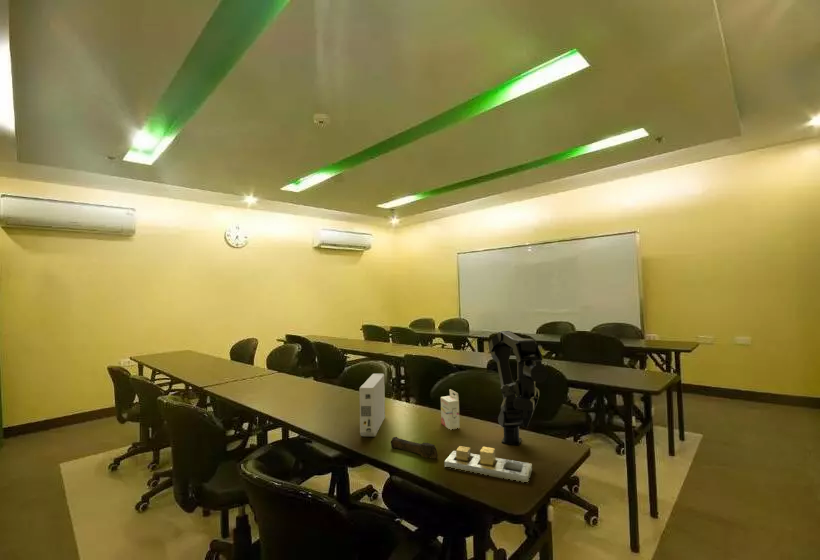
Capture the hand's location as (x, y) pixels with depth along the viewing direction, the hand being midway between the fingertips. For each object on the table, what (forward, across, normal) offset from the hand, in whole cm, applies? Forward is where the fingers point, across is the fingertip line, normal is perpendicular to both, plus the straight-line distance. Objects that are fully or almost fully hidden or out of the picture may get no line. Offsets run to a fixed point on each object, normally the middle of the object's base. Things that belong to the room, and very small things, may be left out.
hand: (527, 422), depth 125 cm
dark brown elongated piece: (+12, +10, -38) cm, 41 cm away
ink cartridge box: (+12, -20, -35) cm, 42 cm away
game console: (+12, -7, -65) cm, 67 cm away
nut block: (+12, +12, -11) cm, 21 cm away
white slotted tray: (+12, +12, -11) cm, 21 cm away
